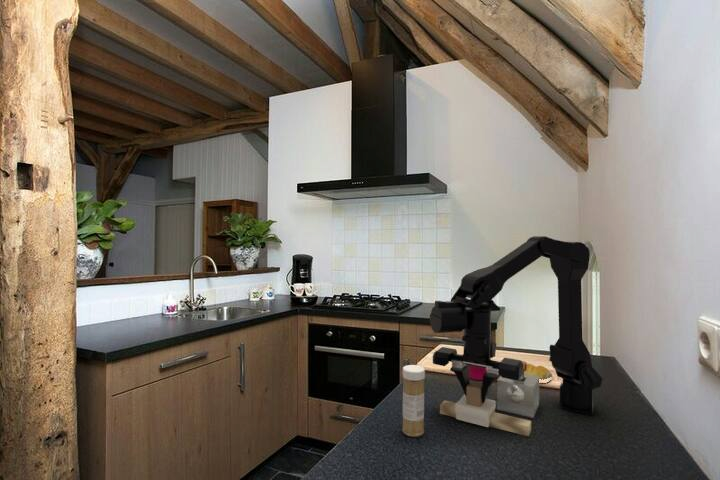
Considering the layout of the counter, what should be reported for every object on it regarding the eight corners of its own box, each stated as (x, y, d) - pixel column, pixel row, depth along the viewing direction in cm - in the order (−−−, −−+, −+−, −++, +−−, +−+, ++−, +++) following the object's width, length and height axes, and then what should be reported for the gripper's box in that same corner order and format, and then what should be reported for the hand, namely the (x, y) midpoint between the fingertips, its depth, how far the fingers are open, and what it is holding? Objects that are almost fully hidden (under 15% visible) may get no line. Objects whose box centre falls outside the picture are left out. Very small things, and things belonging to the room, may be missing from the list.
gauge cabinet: (538, 405, 96) (539, 376, 96) (533, 418, 89) (533, 387, 89) (504, 398, 100) (504, 370, 100) (496, 410, 93) (496, 380, 93)
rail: (531, 430, 83) (531, 421, 83) (528, 436, 81) (528, 426, 81) (444, 408, 93) (444, 400, 93) (439, 413, 91) (440, 404, 91)
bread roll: (524, 371, 121) (524, 358, 121) (555, 379, 114) (555, 365, 114) (512, 378, 115) (512, 364, 115) (544, 386, 109) (544, 372, 109)
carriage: (495, 416, 89) (496, 383, 89) (487, 428, 83) (487, 393, 83) (464, 408, 93) (465, 376, 93) (455, 420, 87) (455, 386, 87)
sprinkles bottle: (415, 425, 85) (416, 363, 85) (428, 435, 81) (429, 369, 81) (397, 429, 83) (398, 365, 83) (409, 439, 79) (410, 372, 79)
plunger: (527, 386, 95) (528, 361, 95) (525, 391, 92) (525, 365, 92) (512, 383, 97) (512, 359, 97) (508, 388, 94) (509, 363, 94)
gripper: (528, 329, 90) (527, 398, 90) (449, 319, 100) (448, 381, 100) (518, 340, 80) (517, 416, 80) (432, 327, 90) (431, 395, 90)
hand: (475, 400), depth 88 cm, fingers closed on carriage, 3 cm apart
